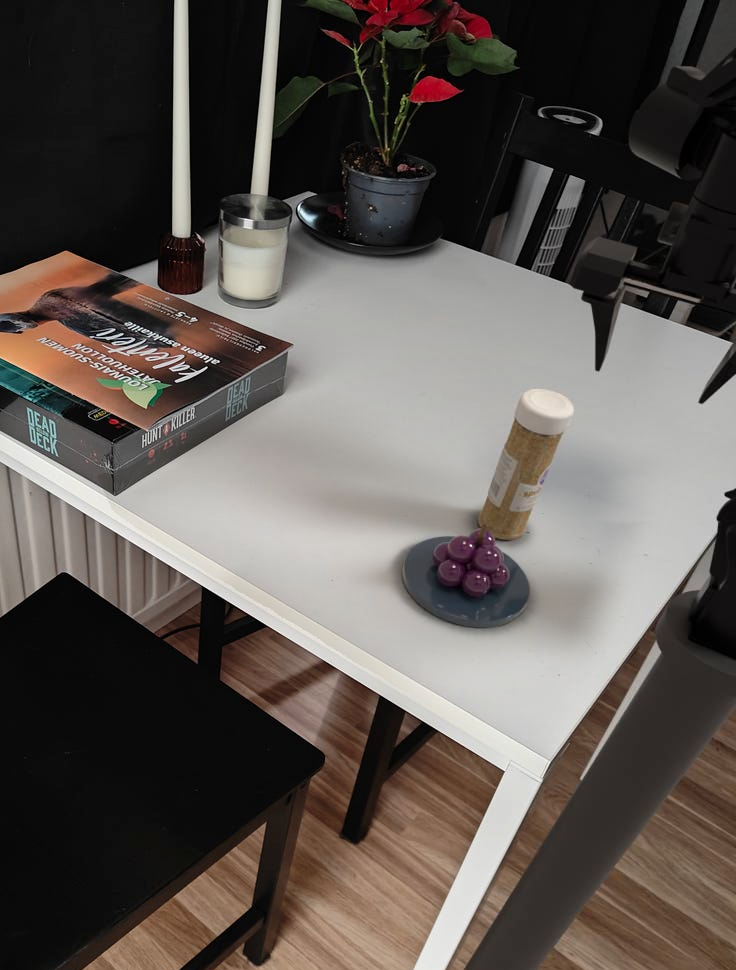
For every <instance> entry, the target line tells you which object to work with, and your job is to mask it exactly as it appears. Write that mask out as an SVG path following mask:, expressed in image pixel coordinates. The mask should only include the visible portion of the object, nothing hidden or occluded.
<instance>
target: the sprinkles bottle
mask: <svg viewBox="0 0 736 970" xmlns="http://www.w3.org/2000/svg"><path fill="white" fill-rule="evenodd" d="M574 412H575V408H574V404H573V402H571V401H570V399H569V398H567V397H566V396H564V395H563V394H561V393H559V392H556V391H553V390H551V389H545V388H544V389H543V388H532V389H527V390H526V391H525V392H523V393H522V394H521V395H520V397H519V400H518V402H517V405H516V408H515V410H514V416H513V417H514V420H513V422H512V425H511V428H510V431H509V434H508V437H507V440H506V442H505V443H504V445H503V448H502V451H501V454H500V457H499V460H498V463H497V465H496V468H495V471H494V473H493V476H492V479H491V482H490V485H489V488H488V489H487V496H486V499H485V501H484V505H483V507H482V510H481V511H480V512H479V514H478V517H477V522H478V525H479V528H481V527H482V525H483V523H485V522H486V523H488V525H489V526H488V529H487V530H489V531H490V532H491V533H492V534H493V535H494V537H495V539H498V540H504V541H505V540H508V541H510V540H517V539H519V538H521V537H522V536H523V535H524V534H525V532H526V528H527V523H528V521H529V519H530V516H531V514H532V511H533V508H534V507H535V505H536V503H537V500H538V497H539V495H540V493H541V490H542V487H543V485H544V483H545V480H546V478H547V475H548V472H549V470H550V468H551V464H552V461H553V459H554V457H555V455H556V451H557V448H558V446H559V443H560V441H561V439H562V436H563V434H564V433H565V432H566V431H567V429H568V428H569V425H570V423H571V420H572V418H573V416H574Z"/></svg>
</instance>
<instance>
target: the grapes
mask: <svg viewBox="0 0 736 970" xmlns="http://www.w3.org/2000/svg"><path fill="white" fill-rule="evenodd" d="M488 526H489V525H488V523H486V522H485V523H483V525H482V527H479V528H476V529H473V530H472V531H471V532H470V533H469V534H468V535H465V534H460V535H455V536H454V535H447V536H446V535H444V536H443V535H441V536H436V537H431V538H427V539H425V540H422V541H420V542H419V543H417V544H416V545H414V546H413V547H412V548H410V550H409V551H408V553H407V554H406V556H405V558H404V562H403V566H402V568H401V569H402V570H401V571H402V572H401V576H402V581H403V584H404V587H405V589H406V591H407V593H409V595H410V596H411V597H412V599H413V600H414V601H415V602H416V603H417V604H418V605H419V606H420V607H422V608H423V609H424V610H426V611H427V612H429V613H430V614H432V615H433V616H435V617H438V618H440V619H442V620H444V621H446V622H449V623H452V624H455V625H459V626H463V627H468V628H470V627H471V628H493V627H499V626H502V625H506V624H509V623H510V622H512V621H514V620H515V619H516V618H518V617H519V616H520V615H521V614H522V613H523V611H524V609H525V608H526V606H527V603H528V602H529V599H530V592H531V589H530V584H529V583H530V582H529V579H528V578H527V575H526V574H525V572H524V570H523V569H522V568H521V567H520V565H519V564H518V563H517V562H516V561H515V560H514V559H513V558H512V557H511V556H509V555H508V554H507V553H505V552H504V551H502V550H501V549H500V547H498V546H496V538H495V537H494V535H493V534H492V533H491V532H490V531H489V530H487V529H488Z"/></svg>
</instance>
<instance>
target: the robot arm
mask: <svg viewBox="0 0 736 970" xmlns="http://www.w3.org/2000/svg"><path fill="white" fill-rule="evenodd" d="M628 144H629V148H630V150H631V152H632V153H633V154H634V155H635V156H637V157H638V158H641V159H643V160H644V161H647V162H648V163H650V164H652V165H654V166H656V167H657V168H660V169H662V170H663V171H665V172H668V173H669V174H671V175H673V176H675V177H677V178H679V179H681V180H683V181H687V182H690V181H691V182H692V181H695V180H698V179H699V181H698V183H697V185H696V188H695V190H694V192H693V195H692V197H691V200H690V202H689V204H686V203H681V202H677V201H672V204H671V206H670V208H669V211H668V213H667V215H666V217H665V220H664V222H663V224H662V226H661V229H660V231H659V234H658V236H657V242H658V243H661V244H664V245H669V246H670V248H669V251H668V253H667V256H666V258H665V260H664V264H663V265H662V268H660V267H655V266H652V265H650V264H646V263H642V262H638V261H635V260H634V258H635V256H636V253H637V249H638V246H634V245H630V244H627V243H623V242H620V241H616V240H612V239H609V238H606V237H601V236H597V237H596V238H594V239H593V240H590V241H589V242H588V244H587V245H586V246H585V248H584V249H583V251H582V252H581V253H580V255H579V257H578V259H577V262H576V264H575V267H574V269H573V271H572V275H571V278H570V281H569V283H568V285H569V286H570V287H572V288H573V289H574V290H578V291H581V292H582V294H581V296H580V300H581V301H582V302H584V303H587V304H589V305H590V308H591V315H592V320H593V321H592V322H593V329H594V370H595V372H598V373H599V372H600V371H601V369H602V367H603V365H604V362H605V360H606V358H607V355H608V353H609V349H610V345H611V343H612V339H613V334H614V330H615V328H616V323H617V320H618V316H619V312H620V308H621V305H622V301H623V298H624V295H625V293H626V289H627V287H630V288H634V289H636V290H640V291H645V292H648V293H651V294H653V295H658V296H660V297H661V296H662V297H665V298H668V299H672V300H676V301H678V302H682V303H686V304H689V305H692V306H697V307H700V308H703V309H707V310H710V311H713V312H716V313H717V312H718V313H722V314H724V315H728V316H732V317H735V318H736V289H735V288H734V287H735V285H736V47H735V48H734V49H733V50H731V51H730V52H729V53H728V54H727V55H726V56H725V57H724V58H723V59H722V60H721V61H720V62H719V63H717V64H716V65H715V66H714V67H713V68H712V69H711V70H710V71H709V72H708V73H707V74H706V73H705V72H703V71H702V70H701V69H699V68H697V67H694V66H690V65H689V66H686V65H685V66H684V65H683V66H682V65H677V66H676V65H674V66H672V67H671V68H670V69H669V72H668V75H667V77H666V81H665V82H664V83H662V84H661V85H659V86H658V87H656V88H655V89H654V90H652V92H651V93H649V95H648V96H647V97H646V98H645V99H644V101H643V102H642V103H641V105H640V106H639V108H638V110H636V111H635V112H634V113H633V116H632V118H631V122H630V125H629V129H628ZM734 376H736V338H735V339H734V341H733V342H732V344H731V345H730V347H729V348H728V350H727V352H726V353H725V354H724V356H723V357H722V359H721V360H720V362H719V364H718V365H717V367H716V368H715V370H714V371H713V373H712V374H711V375H710V377H709V379H708V380H707V382H706V383H705V385H704V388H703V390H702V391H701V394H700V396H699V398H698V402H697V404H700V405H704V404H705V403H706V402H707V401H708V400H709V399H710V398H711V397H713V395H714V394H715V393H717V392H718V391H719V390H720V389H721V388H722V387H724V385H726V383H728V382H729V381H730V380H731V379H732V378H733V377H734ZM723 496H724V497H725V498H727V499H728V500H727V501H726V502H725V503H724V504H723V505H722V506H721V508H720V509H719V510H718V513H717V515H716V517H715V519H716V521H717V532H716V536H715V541H714V545H713V551H712V556H711V560H710V565H709V571H708V572H709V575H708V577H707V578H706V580H705V582H704V583H703V585H702V586H701V588H700V589H699V590H700V591H699V593H698V594H697V596H696V598H695V599H694V601H693V602H692V606H691V609H690V613H689V617H688V619H689V621H690V622H691V625H690V629H689V633H688V639H689V640H690V641H692V642H694V643H696V644H699V645H701V646H704V647H706V648H709V649H711V650H714V651H716V652H719V653H721V654H724V655H726V656H729V657H731V658H734V659H736V487H735V488H733V489H731V490H728V491H725V492H724V493H723Z"/></svg>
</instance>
